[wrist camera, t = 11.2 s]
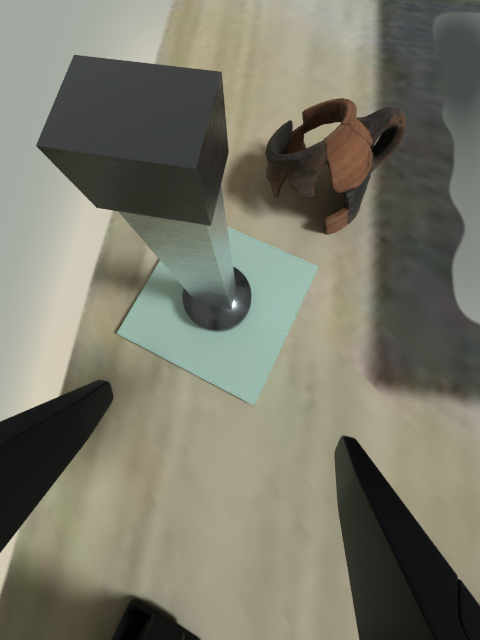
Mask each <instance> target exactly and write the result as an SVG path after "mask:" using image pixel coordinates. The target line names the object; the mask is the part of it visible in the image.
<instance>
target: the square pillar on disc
mask: <svg viewBox="0 0 480 640" xmlns="http://www.w3.org/2000/svg"><path fill="white" fill-rule="evenodd" d="M36 146H37V147H38V148H39V149H40V150H41V151H42V152H43V153H44V154H45V155H46V156H47V157H48V158H49V159H50V160H51V161H52V163H53V164H54V165H55V166H56V167H57V168H59V170H60V171H61V172H62V173H63V174H64V175H65V176H66V177H67V178H68V179H69V180H70V181H71V182H72V183H73V184H74V185H75V186H76V187H77V188H78V189H79V190H80V191H81V192H82V193H83V194H84V195H85V196H86V197H87V198H88V199H89V200H90V201H91V202H92V203H93V204H94V205H95V206H96V207H97V208H102V209H108V210H114V211H118V212H119V213H120V214H121V215H122V216H123V218H124V219H125V220H126V221H127V222H128V223H129V225H130V226H131V227H132V228H133V229H134V230H135V232H136V233H137V234H138V235H139V236H140V237H141V238H142V240H143V241H144V242H145V243H146V244H147V245H148V247H149V248H150V249H151V250H152V251H153V252H154V254H155V255H156V256H157V257H158V258H159V259H160V261H161V262H162V263H163V264H164V265H165V266H166V268H167V269H168V270H169V271H170V272H171V273H172V274H173V276H174V277H175V278H176V279H177V280H178V281H179V283H180V284H181V285H182V286H183V287H184V289H183V294H182V300H183V306H184V309H185V311H186V313H187V315H188V316H189V317H190V319H191V320H192V321H193V322H195V323H196V324H197V325H199V326H200V327H202V328H203V329H206V330H208V331H212V332H225V331H228V330H231V329H233V328H235V327H237V326H238V325H239V324H241V323H242V322H243V321H244V319H245V318H246V316H247V315H248V313H249V310H250V306H251V288H250V284H249V282H248V280H247V278H246V277H245V276H244V274H243V273H242V272H241V271H240V270H238V269H237V268H235V267H233V263H232V256H231V250H230V243H229V236H228V229H227V222H226V215H225V208H224V202H223V195H222V188H221V182H222V178H223V174H224V170H225V165H226V161H227V157H228V153H229V152H228V140H227V129H226V117H225V106H224V94H223V83H222V72H218V71H209V70H201V69H192V68H183V67H175V66H166V65H157V64H149V63H139V62H131V61H122V60H113V59H105V58H96V57H88V56H79V55H74V56H73V59H72V61H71V64H70V66H69V68H68V71H67V73H66V76H65V78H64V80H63V83H62V85H61V87H60V90H59V92H58V95H57V97H56V99H55V102H54V105H53V107H52V109H51V112H50V114H49V116H48V118H47V121H46V123H45V126H44V128H43V130H42V133H41V135H40V138H39V140H38V142H37V145H36Z"/></svg>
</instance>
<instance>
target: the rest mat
mask: <svg viewBox="0 0 480 640" xmlns="http://www.w3.org/2000/svg"><path fill="white" fill-rule="evenodd" d="M227 229H228V236H229V243H230V250H231V256H232V263H233V267H235V268H237V269H238V270H240V271H241V272H242V273H243V274H244V276H245V277H246V278H247V280H248V282H249V284H250V288H251V306H250V310H249V313H248V315H247V316H246V318H245V319H244V321H243V322H242V323H241V324H239V325H238V326H237V327H235V328H233V329H231V330H228V331H225V332H212V331H208V330H206V329H203V328H202V327H200V326H199V325H197V324H196V323H195V322H193V321H192V320H191V319H190V317H189V316H188V315H187V313H186V311H185V309H184V306H183V300H182V294H183V289H184V287H183V286H182V285H181V284H180V283H179V281H178V280H177V279H176V278H175V277H174V276H173V274H172V273H171V272H170V271H169V270H168V269H167V268H166V266H165V265H164V264H163V263H162V262H161V261H159V263H158V264H157V266H156V268H155V269H154V271H153V273H152V275H151V276H150V278H149V280H148V281H147V283H146V285H145V286H144V288H143V290H142V291H141V293H140V295H139V296H138V298H137V300H136V302H135V303H134V305H133V307H132V308H131V310H130V312H129V313H128V315H127V317H126V318H125V320H124V322H123V323H122V325H121V327H120V329H119V330H118V332H117V334H119V335H120V336H122V337H124V338H126V339H128V340H130V341H132V342H134V343H136V344H138V345H140V346H141V347H143V348H145V349H147V350H149V351H151V352H153V353H155V354H157V355H159V356H160V357H162V358H164V359H166V360H168V361H170V362H172V363H174V364H176V365H178V366H180V367H181V368H183V369H185V370H187V371H189V372H191V373H193V374H195V375H197V376H199V377H200V378H202V379H204V380H206V381H208V382H210V383H212V384H214V385H216V386H218V387H220V388H221V389H223V390H225V391H227V392H229V393H231V394H233V395H235V396H237V397H239V398H241V399H242V400H244V401H246V402H248V403H250V404H252V405H255V403H256V401H257V399H258V397H259V395H260V392H261V390H262V388H263V386H264V384H265V382H266V379H267V377H268V375H269V373H270V371H271V369H272V366H273V364H274V362H275V360H276V358H277V356H278V354H279V351H280V349H281V347H282V345H283V343H284V341H285V338H286V336H287V334H288V332H289V330H290V328H291V325H292V323H293V321H294V319H295V317H296V315H297V312H298V310H299V308H300V306H301V304H302V302H303V299H304V297H305V295H306V293H307V291H308V289H309V286H310V284H311V282H312V280H313V278H314V276H315V274H316V271H317V269H318V266H316V265H314V264H312V263H309V262H307V261H305V260H302V259H300V258H298V257H296V256H293V255H291V254H289V253H286V252H284V251H282V250H280V249H277V248H275V247H273V246H271V245H268V244H266V243H264V242H261V241H259V240H257V239H255V238H252V237H250V236H248V235H245V234H243V233H241V232H239V231H236V230H234V229H232V228H230V227H227Z"/></svg>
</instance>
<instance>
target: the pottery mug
mask: <svg viewBox="0 0 480 640" xmlns="http://www.w3.org/2000/svg"><path fill="white" fill-rule="evenodd" d="M356 113H357V108H356V105H355V104H354V102H352V101H351V100H349V99H344V98H341V99H333V100H329V101H325V102H322V103H319V104H317V105H314V106H312V107H310V108H308V109H306V110H304V111H303V113H302V115H303V124H302V125H301V126H300V127H298V128H297V129H295V130H294V131H293V132H292V129H293V124H292V121H291V120H289V121H288V122H287V123H285V124H283V125H282V126H281V127H280V128H279V129H278V130H277V131H276V132H275V133H274V134H273V136H272V137H271V138H270V140H269V142H268V144H267V148H266V152H265V153H266V157H267V159H268V162H269V163H268V167H267V174H266V177H267V179H268V180H269V182H270V184H271V187H272V190H273V193H274V195H275V197H278V196H279V192H280V189H281V187H282V185H283V183H284V182H285V180H286V178H287V177H288V181H289V184H290V185H291V186H292V187H293V188H294V189H295V190H296V191H297V192H298V193H299V195H300V196H301V197H305V198H311V197H313V196H314V184H315V183H316V181H317V179H318V176H319V174H320V172H321V170H322V169H323V167H324V165H325V164H326V163H327V165H328V167H329V170H330V175H331V185H332V187H333V188H334V190H335V191H336V192H338V193H342V192H344V196H345V200H346V204H345V207H344V208H343V209H341V210H340V211H338V212H336V213H334V214H332V215H330V216H328V217H326V218H325V220H324V222H325V226H326V234H331V233H335V232H336V231H338V230H340V229H342V228H343V227H345V226H346V225H347V224H349V223H350V222H351V221H352V220H353V219H354V218H355V217H356V215H357V214H358V212H359V209H360V205H361V202H362V199H363V196H364V193H365V191H366V189H367V184H368V182H369V179H370V175H371V173H372V171H374V170H375V169H376V168H377V167H378V166H379V165H380V164H382V163H383V162H384V161H385V160H386V159H387V158H388V157H389V156H390V155H391V154H392V153H393V151H394V150H395V149H396V147H397V146H398V145H399V143H400V141H401V139H402V137H403V135H404V132H405V125H406V124H405V115H404V113H403V112H402V111H401V110H400V109H395V108H393V107H387V108H383V109H380V110H378V111H376V112H374V113H372V114H370V115H368V116H366V117H361V118H356ZM334 122H341V124H340V125H339V126H338V127H337V128H336V129H335V130H334V131H333V132H332V133H331V134H330V135H329V136H327V137H326V138H325V139H324V140H323V141H321V142H319V143H317V144H315V145H313V146H311V147H309V148H307V149H306V146H305V143H304V133H306V132H308V131H310V130H312V129H314V128H317V127H319V126H320V125H323V124H330V123H334ZM380 135H381V136H380ZM379 136H380V138H379V140H378V142H377V143H376V144H375V142H376V140H377V138H378V137H379ZM374 144H375V145H374ZM373 146H374V147H373Z"/></svg>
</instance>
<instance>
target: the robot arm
mask: <svg viewBox="0 0 480 640" xmlns="http://www.w3.org/2000/svg"><path fill="white" fill-rule="evenodd" d="M112 401H113V392H112V388H111V384H110V382H108V381H104V380H97V381H95V382H92V383H90V384H88V385H85V386H83V387H81V388H78V389H76V390H74V391H71V392H69V393H67V394H64V395H62V396H59V397H57V398H55V399H52V400H50V401H48V402H46V403H43V404H41V405H38V406H36V407H34V408H31V409H29V410H27V411H24V412H22V413H20V414H17V415H15V416H13V417H10V418H8V419H5V420H3V421H1V422H0V552H1V551H2V550H3V549H4V547H5V546H6V545H7V543H8V542H9V541H10V540H11V538H12V537H13V536H14V534H15V533H16V532H17V530H18V529H19V528H20V527H21V525H22V524H23V523H24V521H25V520H26V519H27V518H28V516H29V515H30V514H31V512H32V511H33V510H34V508H35V507H36V506H37V505H38V503H39V502H40V501H41V499H42V498H43V497H44V496H45V494H46V493H47V492H48V490H49V489H50V488H51V486H52V485H53V484H54V483H55V481H56V480H57V479H58V477H59V476H60V475H61V473H62V472H63V471H64V470H65V468H66V467H67V466H68V464H69V463H70V462H71V461H72V459H73V458H74V457H75V455H76V454H77V453H78V451H79V450H80V449H81V448H82V446H83V445H84V444H85V442H86V441H87V440H88V438H89V437H90V435H91V434H92V432H93V431H94V429H95V428H96V426H97V425H98V423H99V422H100V420H101V418H102V417H103V415H104V414H105V412H106V411H107V409H108V408H109V406H110V404H111V403H112ZM335 472H336V488H337V502H338V511H339V518H340V524H341V530H342V537H343V543H344V549H345V555H346V561H347V567H348V573H349V579H350V585H351V591H352V598H353V604H354V610H355V616H356V622H357V628H358V634H359V640H480V605H479V604H478V602H477V601H476V600H475V598H474V597H473V596H472V594H471V593H470V592H469V590H468V589H467V588H466V586H465V585H464V584H463V582H462V581H461V580H460V579H458V576H457V574H456V573H455V572H454V570H453V569H452V568H451V566H450V565H449V564H448V562H447V561H446V560H445V558H444V557H443V556H442V554H441V553H440V552H439V550H438V549H437V548H436V546H435V545H434V543H433V542H432V541H431V539H430V538H429V537H428V535H427V534H426V533H425V531H424V530H423V529H422V527H421V526H420V525H419V523H418V522H417V521H416V519H415V518H414V517H413V515H412V514H411V513H410V511H409V510H408V509H407V507H406V506H405V505H404V503H403V502H402V501H401V499H400V498H399V496H398V495H397V494H396V492H395V491H394V490H393V488H392V487H391V486H390V484H389V483H388V482H387V480H386V479H385V478H384V476H383V475H382V474H381V472H380V471H379V470H378V468H377V467H376V466H375V464H374V463H373V462H372V460H371V459H370V458H369V456H368V455H367V453H366V452H365V451H364V449H363V448H362V447H361V445H360V444H359V443H358V441H357V440H356V439H355V438H353V437H349V436H344V435H343V436H341V438H340V440H339V442H338V445H337V447H336V449H335ZM132 609H134V610H135V611H133V610H132ZM112 640H197V639H196V638H194V637H193V636H191V635H190V634H188V633H187V632H185V631H184V630H182V629H181V628H179V627H178V626H176V625H175V624H173V623H172V622H170V621H169V620H167V619H166V618H164V617H163V616H161V615H160V614H158V613H157V612H155V611H154V610H152V609H151V608H149V607H148V606H146V605H145V604H143V603H142V602H140V601H139V600H136V599H134V600H132V601H131V602H130V603H129V605H128V607H127V609H126V611H125V613H124V615H123V617H122V619H121V621H120V623H119V625H118V628H117V630H116V632H115V634H114V636H113V638H112Z"/></svg>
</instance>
